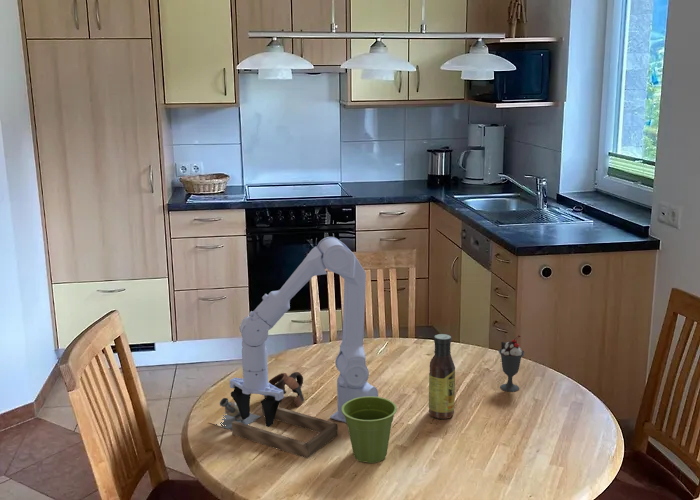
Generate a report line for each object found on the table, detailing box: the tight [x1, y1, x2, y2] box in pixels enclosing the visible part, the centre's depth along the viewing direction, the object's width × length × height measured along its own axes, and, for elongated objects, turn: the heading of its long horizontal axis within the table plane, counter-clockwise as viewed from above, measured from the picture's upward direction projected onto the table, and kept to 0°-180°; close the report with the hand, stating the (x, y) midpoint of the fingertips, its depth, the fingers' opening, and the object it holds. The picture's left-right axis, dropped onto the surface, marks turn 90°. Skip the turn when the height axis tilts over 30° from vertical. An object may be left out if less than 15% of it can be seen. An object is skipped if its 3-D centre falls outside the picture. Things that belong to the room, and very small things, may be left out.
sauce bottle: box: [428, 333, 456, 420], centre depth 174 cm, size 7×6×20 cm
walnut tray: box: [231, 406, 339, 459], centre depth 167 cm, size 21×12×3 cm, turn 58°
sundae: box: [497, 334, 525, 393], centre depth 189 cm, size 7×7×15 cm
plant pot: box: [341, 396, 398, 464], centre depth 157 cm, size 12×12×11 cm
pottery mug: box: [263, 371, 305, 408], centre depth 185 cm, size 12×10×8 cm
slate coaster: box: [215, 412, 262, 431], centre depth 175 cm, size 9×9×1 cm
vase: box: [219, 397, 245, 421], centre depth 174 cm, size 5×5×6 cm
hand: (257, 421), depth 171 cm, fingers open, 7 cm apart
